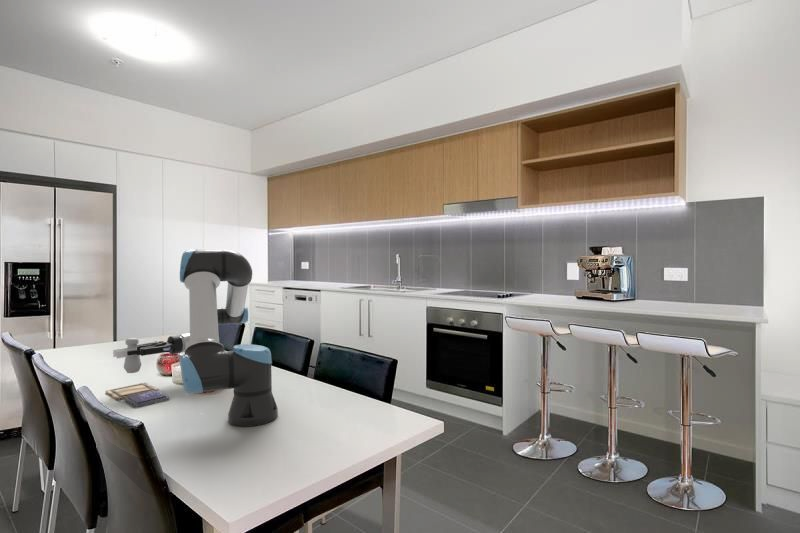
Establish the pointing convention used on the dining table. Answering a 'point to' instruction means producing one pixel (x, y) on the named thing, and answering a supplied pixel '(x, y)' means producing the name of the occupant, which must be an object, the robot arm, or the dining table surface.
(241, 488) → the dining table surface
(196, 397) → the dining table surface
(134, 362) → the salt shaker
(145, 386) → the marked board
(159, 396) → the ink pad
